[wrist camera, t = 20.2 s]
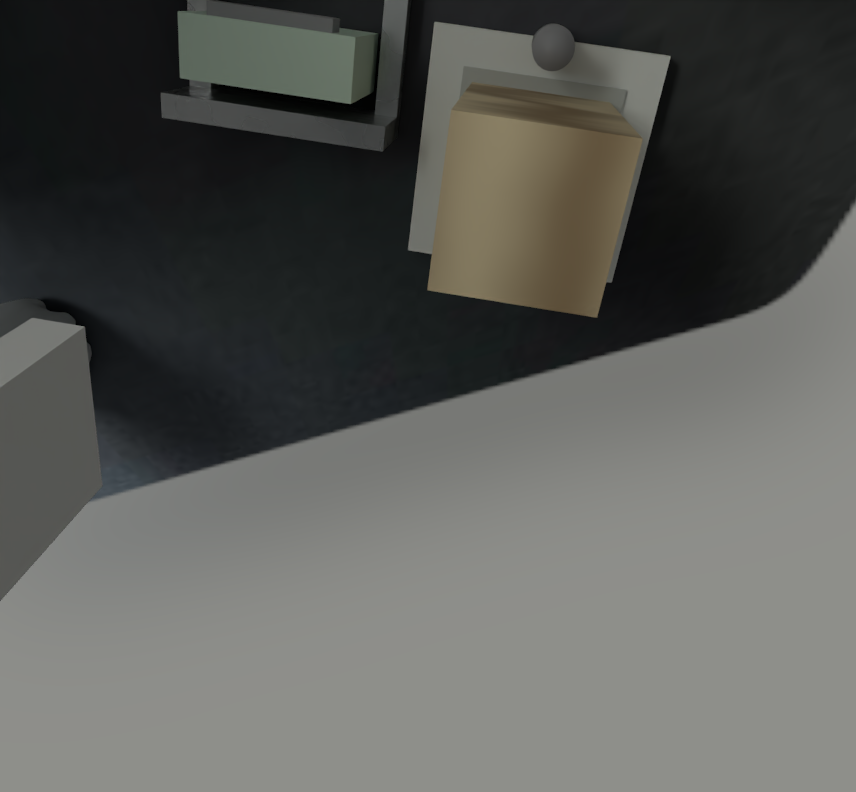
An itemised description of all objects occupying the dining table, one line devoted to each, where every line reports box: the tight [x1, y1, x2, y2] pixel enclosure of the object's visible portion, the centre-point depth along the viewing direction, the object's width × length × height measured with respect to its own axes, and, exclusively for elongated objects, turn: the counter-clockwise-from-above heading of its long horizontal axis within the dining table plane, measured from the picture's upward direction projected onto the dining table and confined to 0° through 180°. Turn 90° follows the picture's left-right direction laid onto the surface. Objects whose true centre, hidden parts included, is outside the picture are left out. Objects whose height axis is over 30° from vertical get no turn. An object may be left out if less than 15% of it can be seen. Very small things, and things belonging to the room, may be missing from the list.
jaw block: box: [427, 82, 643, 318], centre depth 28 cm, size 6×6×10 cm
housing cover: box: [178, 0, 379, 104], centre depth 30 cm, size 7×3×5 cm, turn 83°
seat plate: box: [408, 22, 671, 304], centre depth 32 cm, size 10×11×4 cm
